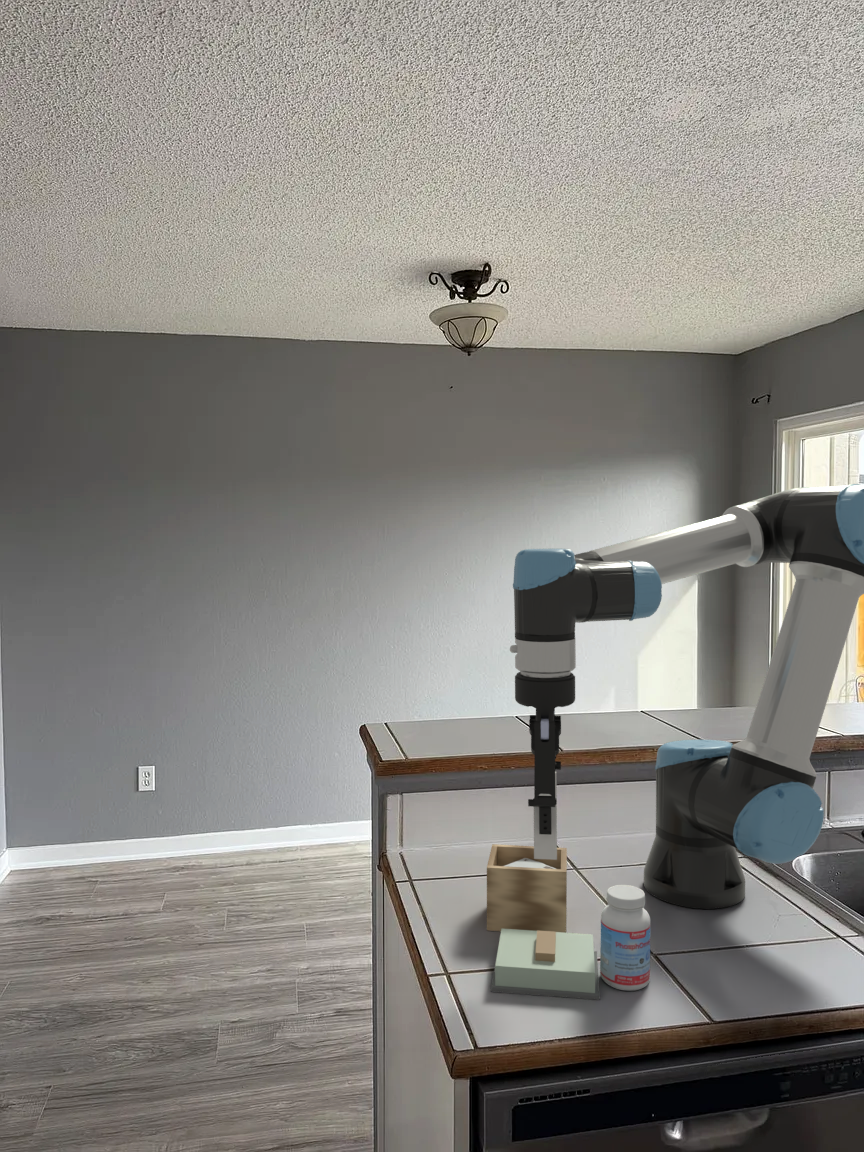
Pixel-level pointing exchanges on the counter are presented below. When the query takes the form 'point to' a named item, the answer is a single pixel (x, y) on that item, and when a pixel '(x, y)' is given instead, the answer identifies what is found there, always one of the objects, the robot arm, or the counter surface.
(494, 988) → the mat
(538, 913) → the box
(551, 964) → the lid
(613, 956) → the pill bottle
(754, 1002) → the counter surface
